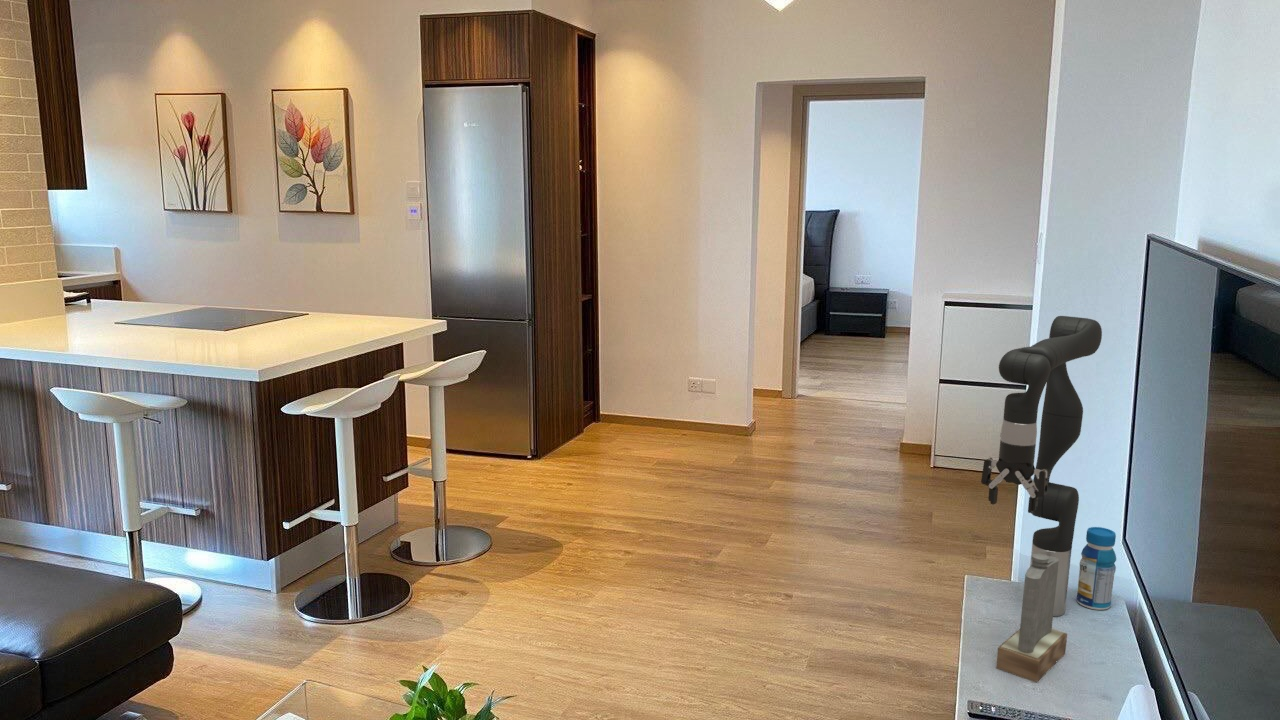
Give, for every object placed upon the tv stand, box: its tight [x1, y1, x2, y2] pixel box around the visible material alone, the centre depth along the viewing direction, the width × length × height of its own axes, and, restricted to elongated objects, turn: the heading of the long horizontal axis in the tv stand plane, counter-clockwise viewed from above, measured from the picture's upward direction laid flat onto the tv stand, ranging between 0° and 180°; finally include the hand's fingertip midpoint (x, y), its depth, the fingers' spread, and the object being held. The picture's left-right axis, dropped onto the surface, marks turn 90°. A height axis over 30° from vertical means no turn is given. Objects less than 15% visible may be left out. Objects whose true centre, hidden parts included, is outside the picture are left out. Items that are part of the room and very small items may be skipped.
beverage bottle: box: [1076, 526, 1117, 611], centre depth 247 cm, size 8×8×20 cm
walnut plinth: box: [995, 628, 1068, 683], centre depth 218 cm, size 18×9×5 cm, turn 138°
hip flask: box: [1018, 554, 1059, 653], centre depth 216 cm, size 16×4×20 cm, turn 140°
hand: (1011, 507), depth 220 cm, fingers open, 8 cm apart
